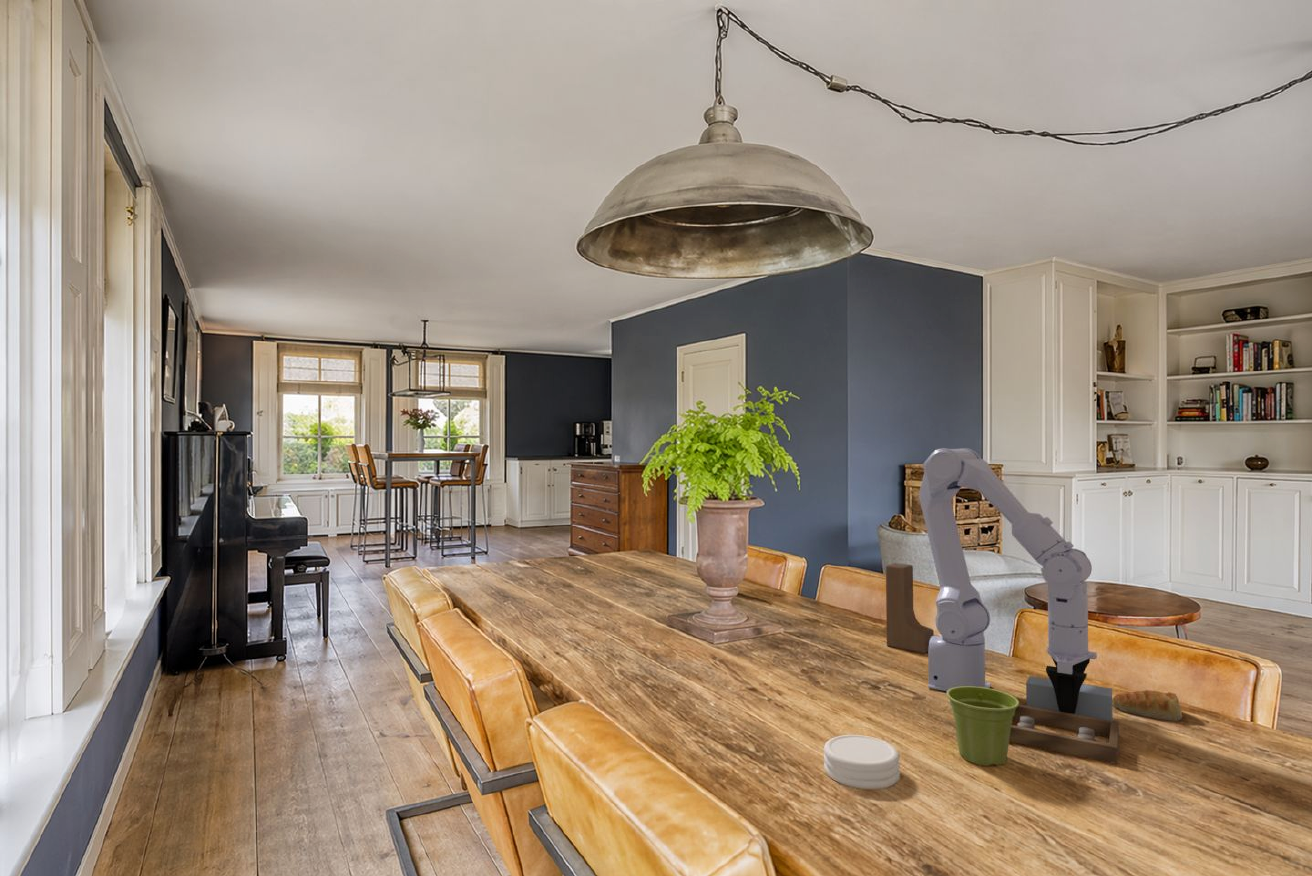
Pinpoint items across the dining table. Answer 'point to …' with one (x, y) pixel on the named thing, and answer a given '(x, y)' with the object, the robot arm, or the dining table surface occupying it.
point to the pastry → (1149, 704)
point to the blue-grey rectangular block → (1089, 699)
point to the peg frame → (1063, 743)
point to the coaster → (861, 762)
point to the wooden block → (903, 611)
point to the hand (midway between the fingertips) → (1069, 706)
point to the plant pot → (982, 723)
